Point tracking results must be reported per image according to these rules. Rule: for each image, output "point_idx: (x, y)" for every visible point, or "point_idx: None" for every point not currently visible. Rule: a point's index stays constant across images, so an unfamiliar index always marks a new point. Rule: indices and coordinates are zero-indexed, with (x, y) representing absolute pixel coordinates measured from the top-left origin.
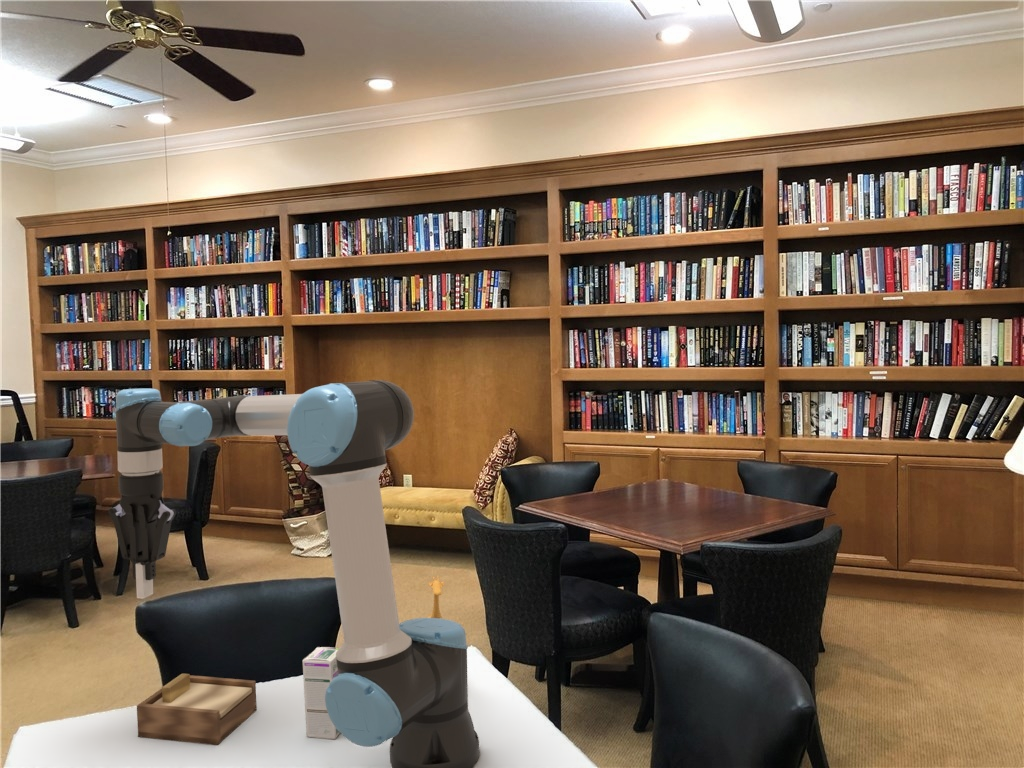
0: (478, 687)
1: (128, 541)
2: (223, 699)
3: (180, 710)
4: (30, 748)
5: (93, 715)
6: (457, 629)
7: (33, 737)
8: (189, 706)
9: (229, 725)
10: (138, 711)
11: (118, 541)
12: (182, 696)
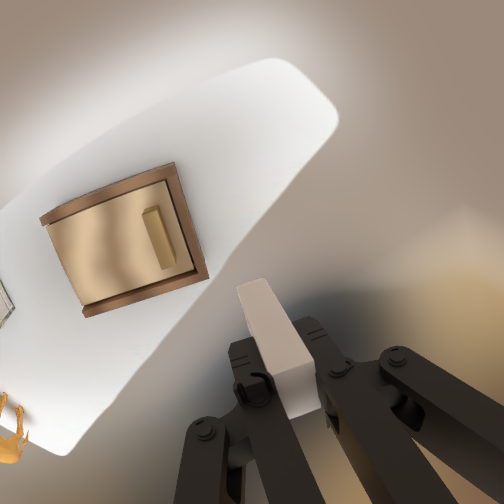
0: None
1: (434, 429)
2: (82, 260)
3: (92, 194)
4: (289, 78)
5: (294, 174)
6: None
7: (313, 99)
8: (105, 217)
9: None
10: (170, 165)
11: (477, 391)
12: (146, 234)
